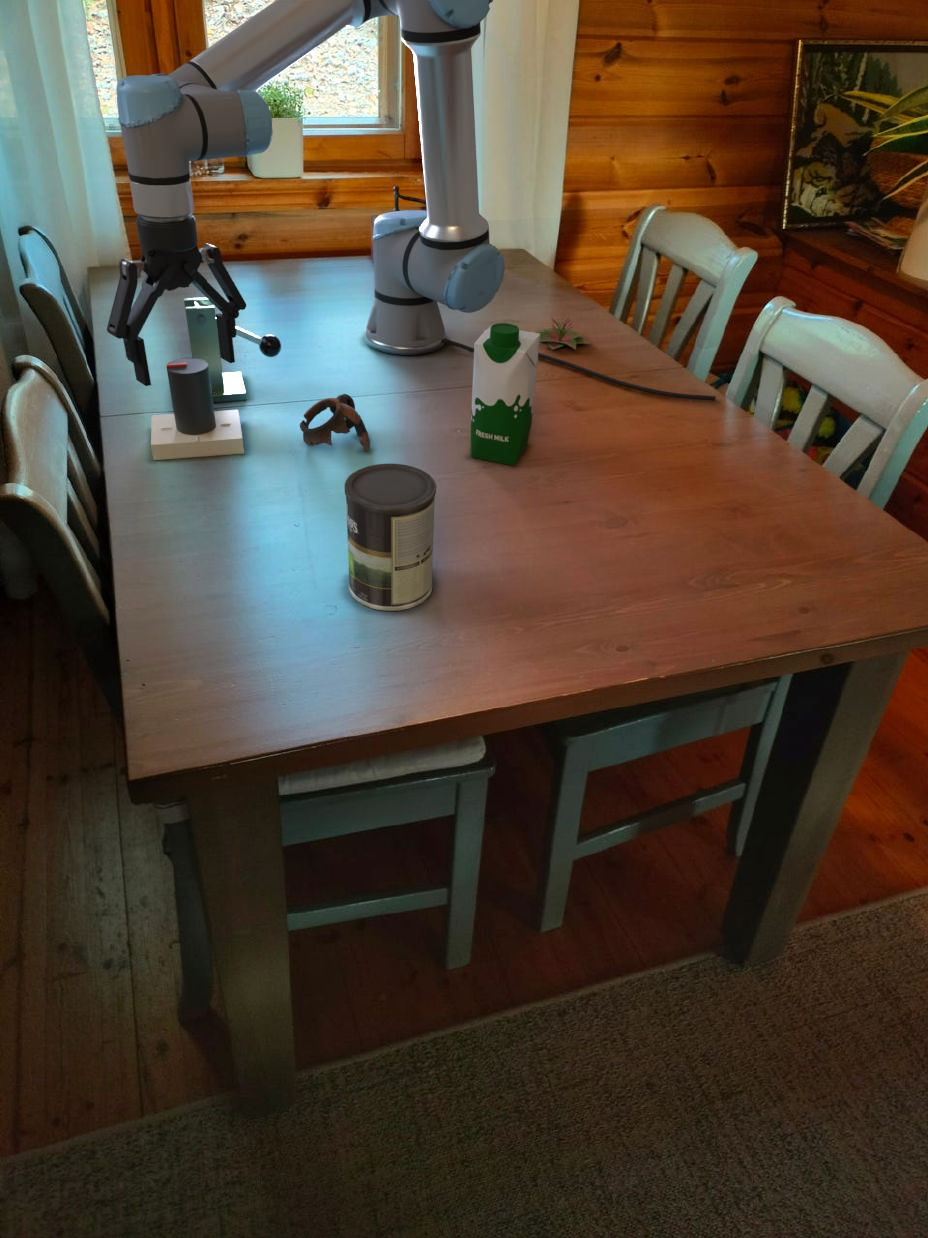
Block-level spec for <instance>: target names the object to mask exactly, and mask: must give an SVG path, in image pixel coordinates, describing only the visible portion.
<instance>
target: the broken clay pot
mask: <svg viewBox="0 0 928 1238" xmlns="http://www.w3.org/2000/svg"><path fill="white" fill-rule="evenodd" d="M328 408H329V412H331V413H332V416H331V417H330V418H329V419H328V420H327V421H325V422H324V423H323V424H320V425H319V426H316V427H313V428H309V427H310V424H311V422H312V421H313V420H314V419H315V417H317V416H318V415H320V414H321V413H322V412H324V411H326V410H328ZM303 418H304V419H305V420H306V421H305V420H304V419H303V420H301V422H300V423H299V429H300V431H301V432H302V440H303V442H304V443H305V444H306V445H309V446H318V445H321V444H326V445H329V446H333V443H332V432H333V433H335V434H344V435H347V434H349V433H350V432H351V429H352V428H354V430H355V433H356V437H357V438H361V439H360V440H359V442H360V444H361V445H362V449H363V452H365V453H367V452H368V451H369V449H370V446H371V439H370V438H369V432H368V431H367V428H366V425H365V423H364V420H363V419H362V416H361V415H360V414H359V413H358V412H357V410H356V405H355V400H354V399H353V398H352V396H350V395H349V394H348V393H342V394H339V395H337V396H336V397H328V398H323V399H321V400H318V401H317V402H315V403H314V404H313V405H312V406H311V407H309V408H308V409H307V410H306V411H305V413H304V414H303Z"/></svg>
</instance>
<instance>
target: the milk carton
mask: <svg viewBox="0 0 928 1238" xmlns="http://www.w3.org/2000/svg"><path fill="white" fill-rule="evenodd" d="M539 340H540V334H539V333H535V332H533V331H526V330H520V328H519V327H518V325H515V324H511V323H508V322H507V323H506V322H505V323H504V322H501V323H495V324H491V325H490V326H489V327H488V328H487V329H485V330H484V331H483V332H482V333H481V335H479V337H478V338H477V339H476V341H475V342H474V344H473V345H474V347H473V348H474V352H473V356H474V357H473V371H472V372H473V373H472V390H471V391H472V392H471V409H470V410H471V412H470V458H473V459H479V460H482V461H483V460H484V461H487V462H493V463H498V464H502V465H503V464H504V465H508V466H513V467H515V465H516V464H517V463H518V461H519V459H520V458H521V457H522V455H523V454H524V452H525V450H526V449H527V447H528V444H529V439H530V433H531V429H532V423H533V414H534V406H535V405H534V404H535V403H534V402H535V394H536V385H537V374H538V364H539V357H538V353H539V349H540V342H539Z"/></svg>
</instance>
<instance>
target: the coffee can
mask: <svg viewBox="0 0 928 1238" xmlns="http://www.w3.org/2000/svg"><path fill="white" fill-rule="evenodd" d="M436 494H437V484H436V481H435V479H434V478H433V476H431V475H430V474H429V473H428V472H427V471H425V470H422V469H420V468H418V467H415V466H412V465H408V464H402V463H378V464H372V465H368V466H364V467H362V468H360V469H357V470H355V471H354V472H352V473H351V474H350V475H348V476H347V478H346V479H345V481H344V495H345V506H346V532H347V533H346V534H347V552H348V553H347V556H348V558H347V560H348V591H349V594H350V595H351V596H352V598H353V600H355V601H356V602H358V603H359V604H361V605H362V606H364V607H367V608H370V609H372V610H376V611H382V612H399V611H404V610H408V609H412V608H415V607H416V606H419V605H420V604H422V603H424V602H425V601H426V600H427V599H428V598H429V597H430V595H431V594H432V591H433V560H434V559H433V558H434V530H435V529H434V527H435V503H436V502H435V499H436Z"/></svg>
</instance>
